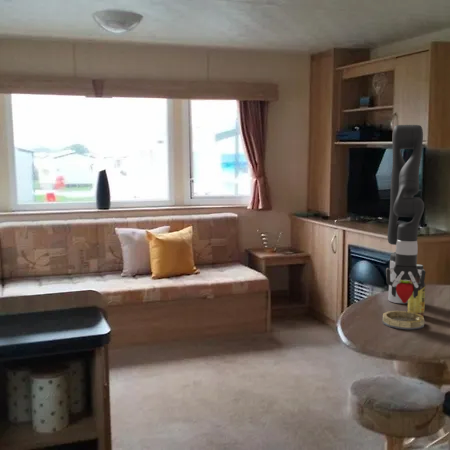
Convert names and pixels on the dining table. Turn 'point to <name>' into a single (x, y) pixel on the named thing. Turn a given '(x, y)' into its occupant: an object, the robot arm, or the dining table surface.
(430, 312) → the dining table surface
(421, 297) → the sauce bottle
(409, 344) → the dining table surface
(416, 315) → the tan rimmed round bowl
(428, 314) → the dining table surface
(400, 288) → the strawberry
